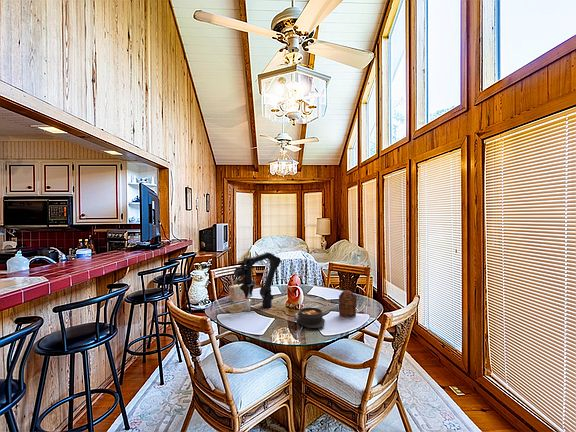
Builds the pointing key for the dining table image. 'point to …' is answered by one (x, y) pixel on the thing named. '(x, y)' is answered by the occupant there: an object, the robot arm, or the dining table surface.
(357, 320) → the dining table surface
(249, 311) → the steel rod
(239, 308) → the wooden bead
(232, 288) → the stack of blocks
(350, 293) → the wooden figurine
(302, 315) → the casserole
